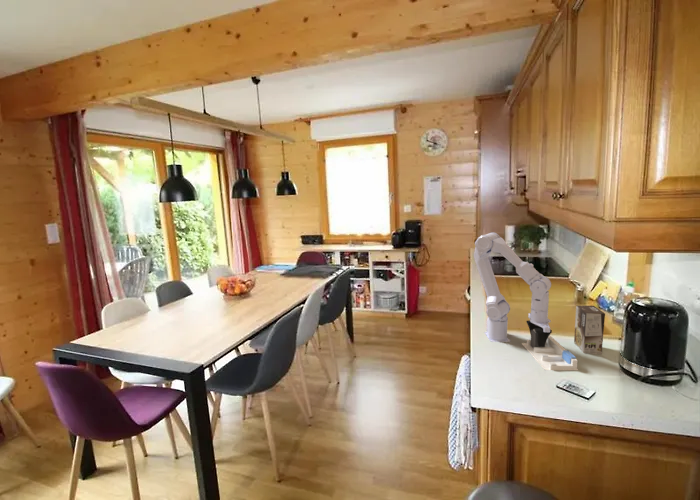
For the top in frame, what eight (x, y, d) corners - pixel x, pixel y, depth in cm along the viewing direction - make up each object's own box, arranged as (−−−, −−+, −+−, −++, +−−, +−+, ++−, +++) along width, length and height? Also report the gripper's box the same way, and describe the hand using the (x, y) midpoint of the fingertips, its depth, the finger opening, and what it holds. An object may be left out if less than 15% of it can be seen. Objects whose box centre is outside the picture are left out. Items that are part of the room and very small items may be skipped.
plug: (530, 345, 140) (531, 328, 139) (540, 345, 140) (541, 328, 139) (534, 349, 137) (535, 332, 135) (544, 349, 136) (545, 332, 135)
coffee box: (602, 355, 131) (606, 313, 128) (583, 354, 133) (586, 313, 130) (591, 344, 140) (594, 305, 137) (573, 343, 141) (575, 304, 138)
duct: (521, 344, 143) (521, 333, 142) (550, 344, 142) (550, 333, 141) (544, 371, 122) (545, 359, 121) (578, 371, 121) (579, 359, 120)
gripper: (559, 315, 128) (557, 351, 130) (542, 302, 142) (540, 334, 145) (539, 315, 129) (537, 351, 131) (523, 302, 143) (522, 334, 145)
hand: (537, 342), depth 138 cm, fingers open, 5 cm apart
